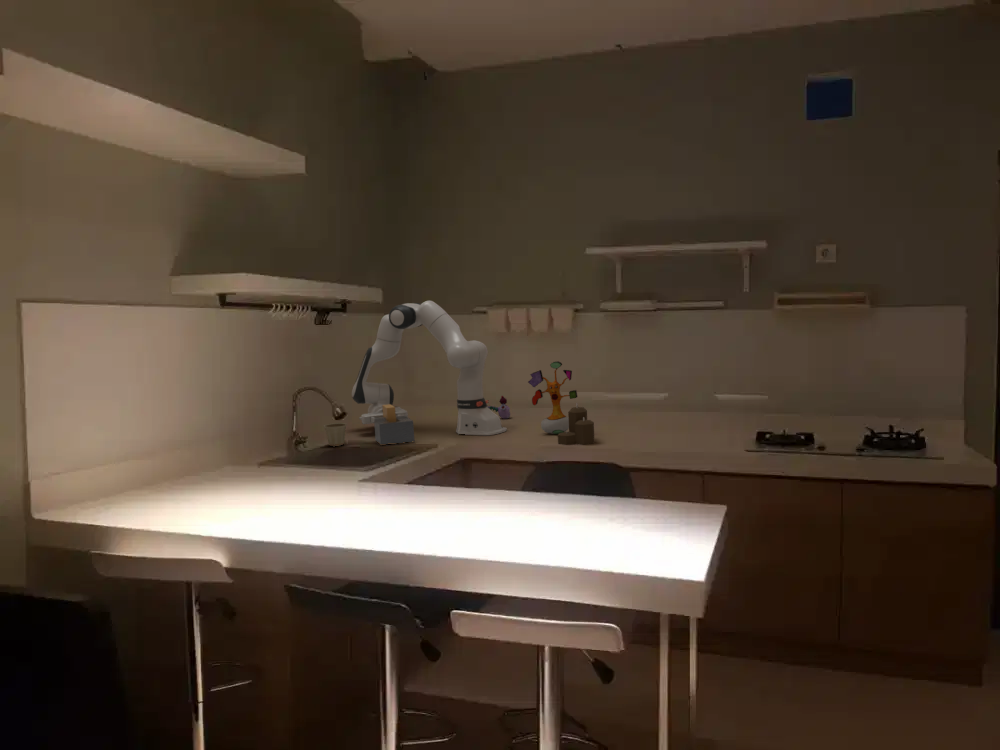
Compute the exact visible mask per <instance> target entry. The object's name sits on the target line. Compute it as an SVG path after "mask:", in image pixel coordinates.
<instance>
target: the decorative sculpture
mask: <svg viewBox="0 0 1000 750" xmlns="http://www.w3.org/2000/svg"><path fill="white" fill-rule="evenodd" d="M562 365H563V363H562V362H560V361H559V360H558V361H557V360H556V361H553V362H551V363H550V364H549V366H550V368H552V369H555V370H554V381H552V382H551V381H549V380H548V379H547V378H546V377H544V376H543V372H542V370H541V369H540V370H538V371H537V370H536V371H535V372H532V373H530V374H529V375H530V377H531V379H529V380H528V381H527V383H528V384H529V385H531V387H532V388H536V386H538V385H539V384H541V383H542V382H543V381H545V382H546V389H545V390H544V391H542V390H541V389H537V390H536V391H535V393H534V395H533V396H532V398H531V403H532V405H533V406H537V404H538V402H539V399H542V398H543V397H544V395H543V394H545V393H548V394H549V396H550V400H551V404H552V411H551V414H550V415H549V416H548V417H546V418H544V419H542V420H541V422H540V426H541V427H540V428H541V430H542V431H544V432H545V433H547V434H551V435H558V434H559V433H562V432H566V431H567V432H568V431H569V417H568V416H567V415H565V414H564V413H563V411H562V408H561V400H562V399H563V398H564V397H569V399H577V398H578V391H577V389H575V390H570V391H568V394H564V395H562V394H561V392H560V391H561V389H560V388H561V387H562V385H564V384H565V381H566V380H567V379H568V381H569V382H570V381H571V380H572V377H573V376H572V375H573V374H572V372H573V370H570V369H563V370H562V371H563V372H564V374H565V375H566V377H565V378H564V379H563V381H562V383H560V382H558V380H557V370H558V369H559V368H560V367H562Z"/></svg>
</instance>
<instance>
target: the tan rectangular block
mask: <svg viewBox="0 0 1000 750" xmlns="http://www.w3.org/2000/svg"><path fill="white" fill-rule="evenodd" d="M382 407H383V417H386V420H387V421H389V422H396V414H395V407H394V405H391V404H388V405H382Z"/></svg>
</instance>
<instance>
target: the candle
mask: <svg viewBox="0 0 1000 750" xmlns="http://www.w3.org/2000/svg"><path fill="white" fill-rule="evenodd" d="M575 406H576V407H571V408H570V410H569V411H568V416H567V417H568V418H569V429H568V430H567V431H565V432H562V433H559V434H557V443H558V445H562V446H570V445H581V446H587V445H594V443H595V425H594V423H595V422H594V421H593V420H591V419H588V409H586V408H585V407H583V406H579V404H578V402H576V405H575Z"/></svg>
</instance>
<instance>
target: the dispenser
mask: <svg viewBox="0 0 1000 750" xmlns="http://www.w3.org/2000/svg"><path fill="white" fill-rule="evenodd" d="M408 416H409V415H408ZM408 416H407V415H401V416H396V422H389V421H387V420H386V417H382V418H374V423H373V424H374V435H375V437H374V438H375V442H376V441H377V442H379V443H380V444H388V443H403V442H412V441H414V442H415V431H414V429H415V428H414V420H413V419H411V418H410V417H408ZM377 442H376V443H377Z"/></svg>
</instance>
